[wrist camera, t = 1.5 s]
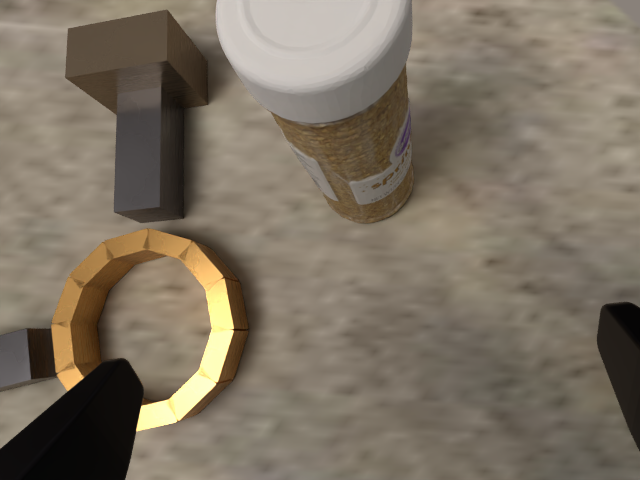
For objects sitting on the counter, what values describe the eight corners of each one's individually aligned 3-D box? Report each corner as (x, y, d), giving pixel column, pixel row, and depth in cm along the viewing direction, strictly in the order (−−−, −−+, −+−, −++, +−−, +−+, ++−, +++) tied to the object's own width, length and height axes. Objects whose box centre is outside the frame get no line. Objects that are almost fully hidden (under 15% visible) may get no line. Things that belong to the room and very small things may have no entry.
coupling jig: (384, 233, 23) (376, 210, 19) (7, 599, 23) (-84, 659, 19) (171, 26, 27) (126, -30, 23) (-141, 334, 28) (-242, 334, 23)
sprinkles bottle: (414, 224, 23) (412, 80, 10) (320, 225, 24) (201, 95, 11) (413, 132, 23) (410, -113, 11) (322, 137, 24) (215, -84, 11)
